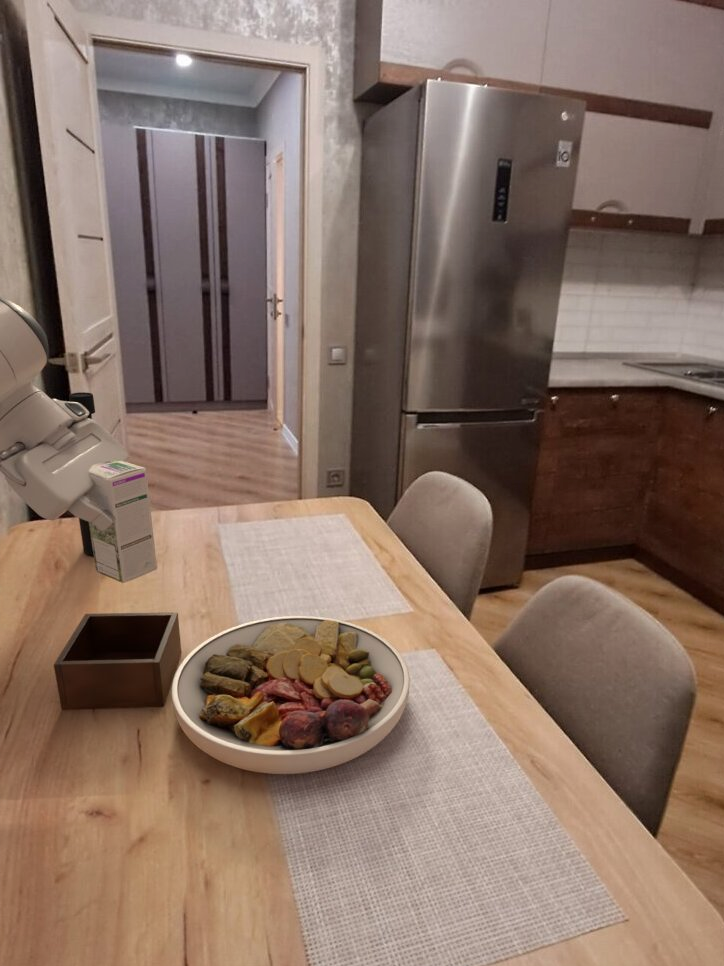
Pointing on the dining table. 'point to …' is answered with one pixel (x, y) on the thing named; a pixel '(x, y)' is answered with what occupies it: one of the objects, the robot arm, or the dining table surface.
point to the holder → (119, 661)
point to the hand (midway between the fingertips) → (124, 512)
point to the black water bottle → (88, 403)
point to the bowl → (290, 694)
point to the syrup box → (122, 521)
